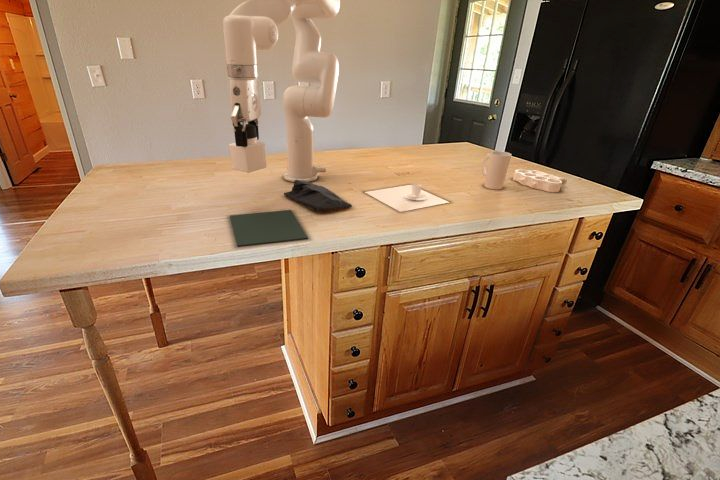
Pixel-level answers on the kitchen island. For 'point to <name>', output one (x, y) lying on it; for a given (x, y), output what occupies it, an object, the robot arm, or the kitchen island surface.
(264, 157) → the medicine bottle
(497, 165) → the mug
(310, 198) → the black fabric pouch
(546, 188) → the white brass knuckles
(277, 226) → the mat
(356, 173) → the kitchen island surface
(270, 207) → the kitchen island surface
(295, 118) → the robot arm
